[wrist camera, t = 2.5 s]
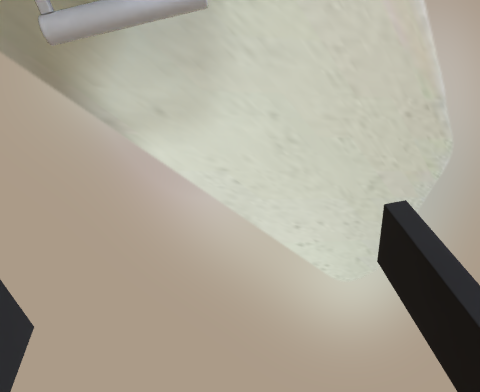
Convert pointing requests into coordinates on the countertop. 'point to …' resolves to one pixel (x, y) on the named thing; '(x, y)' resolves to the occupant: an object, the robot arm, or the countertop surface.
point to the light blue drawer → (107, 16)
